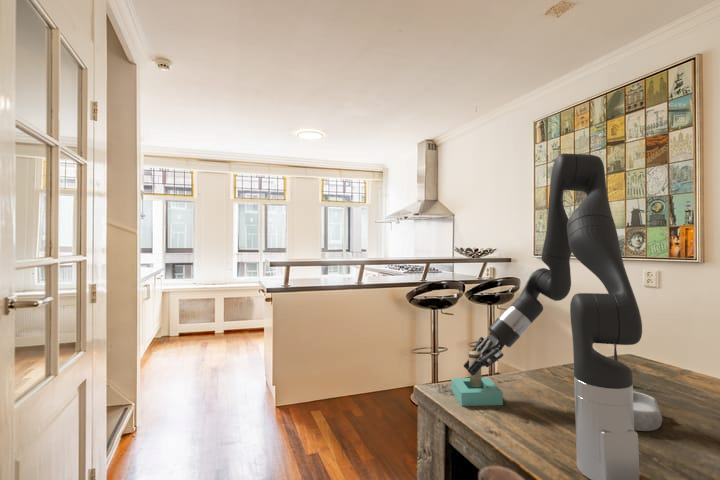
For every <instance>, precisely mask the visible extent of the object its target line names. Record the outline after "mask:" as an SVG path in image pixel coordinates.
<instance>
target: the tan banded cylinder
mask: <svg viewBox="0 0 720 480" xmlns="http://www.w3.org/2000/svg"><path fill="white" fill-rule="evenodd" d="M480 354H481V353H480V352H478V351H472V350H470V351H468V360H469V367H470V366H471V365H472V364H473V363H474V362H475V361H476V360H477V358H478V357H479V356H480ZM468 373H469V372H468ZM469 378H470V385H471V386H474V387H480V386H482V380H481V378H482V367H481V368H480V369H479V370H478V372H477V373H476V374H475V375H473V376H472V375H471V374H470V373H469Z"/></svg>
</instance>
